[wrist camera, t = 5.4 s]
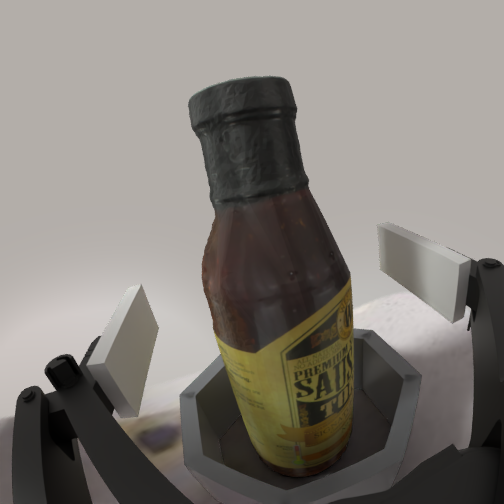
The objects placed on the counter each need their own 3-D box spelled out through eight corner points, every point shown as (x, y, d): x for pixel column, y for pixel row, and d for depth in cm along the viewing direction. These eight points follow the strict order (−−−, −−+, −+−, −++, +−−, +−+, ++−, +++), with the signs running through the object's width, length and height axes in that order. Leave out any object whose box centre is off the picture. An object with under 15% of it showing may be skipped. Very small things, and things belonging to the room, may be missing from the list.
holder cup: (171, 474, 15) (137, 433, 13) (268, 363, 25) (256, 316, 23) (362, 550, 7) (374, 534, 6) (417, 385, 17) (427, 333, 16)
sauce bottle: (326, 493, 12) (251, 41, 5) (238, 460, 15) (112, 118, 9) (366, 415, 17) (338, 77, 10) (288, 396, 20) (223, 109, 14)
